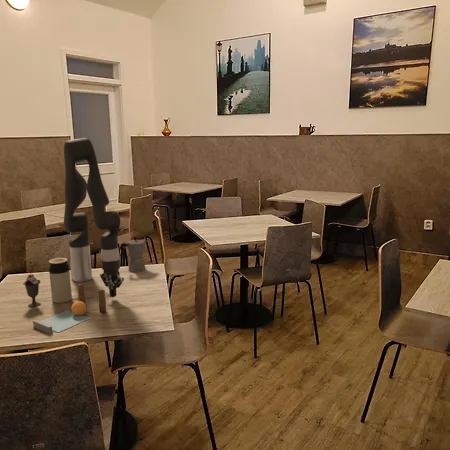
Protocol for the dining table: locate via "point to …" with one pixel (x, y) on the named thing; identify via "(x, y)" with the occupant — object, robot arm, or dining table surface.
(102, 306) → the post outer
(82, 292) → the post inner
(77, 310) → the ball
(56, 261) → the travel mug
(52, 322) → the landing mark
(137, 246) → the coffeepot
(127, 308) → the dining table surface
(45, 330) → the wall
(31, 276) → the sundae
